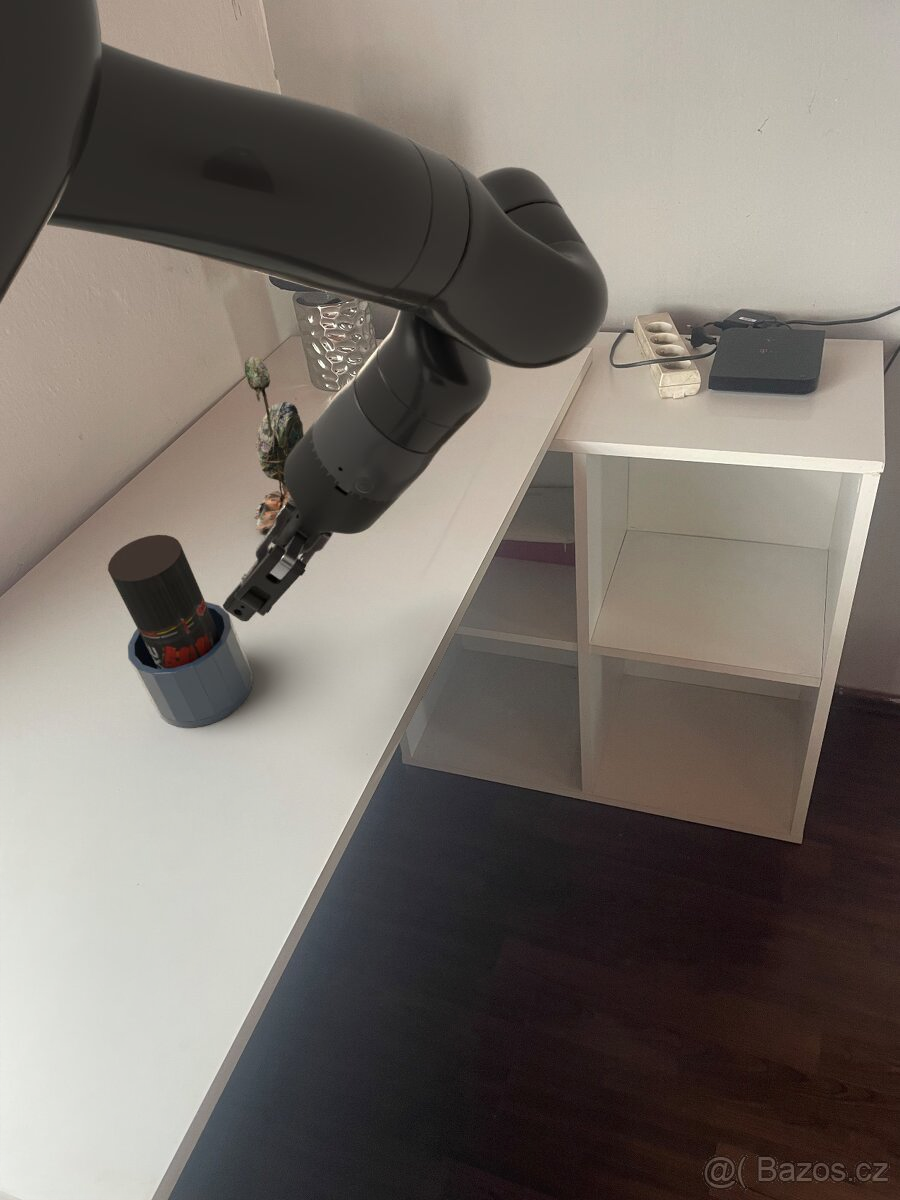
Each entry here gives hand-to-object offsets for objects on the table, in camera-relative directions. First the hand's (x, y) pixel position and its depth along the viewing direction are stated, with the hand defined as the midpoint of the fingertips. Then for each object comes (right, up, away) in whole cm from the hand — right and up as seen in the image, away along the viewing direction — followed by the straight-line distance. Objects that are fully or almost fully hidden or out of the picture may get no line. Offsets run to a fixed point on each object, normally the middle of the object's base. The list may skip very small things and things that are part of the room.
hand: (256, 575), depth 68 cm
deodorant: (-7, -10, +11) cm, 17 cm away
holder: (-7, -10, +12) cm, 17 cm away
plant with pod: (-3, +9, +33) cm, 34 cm away
